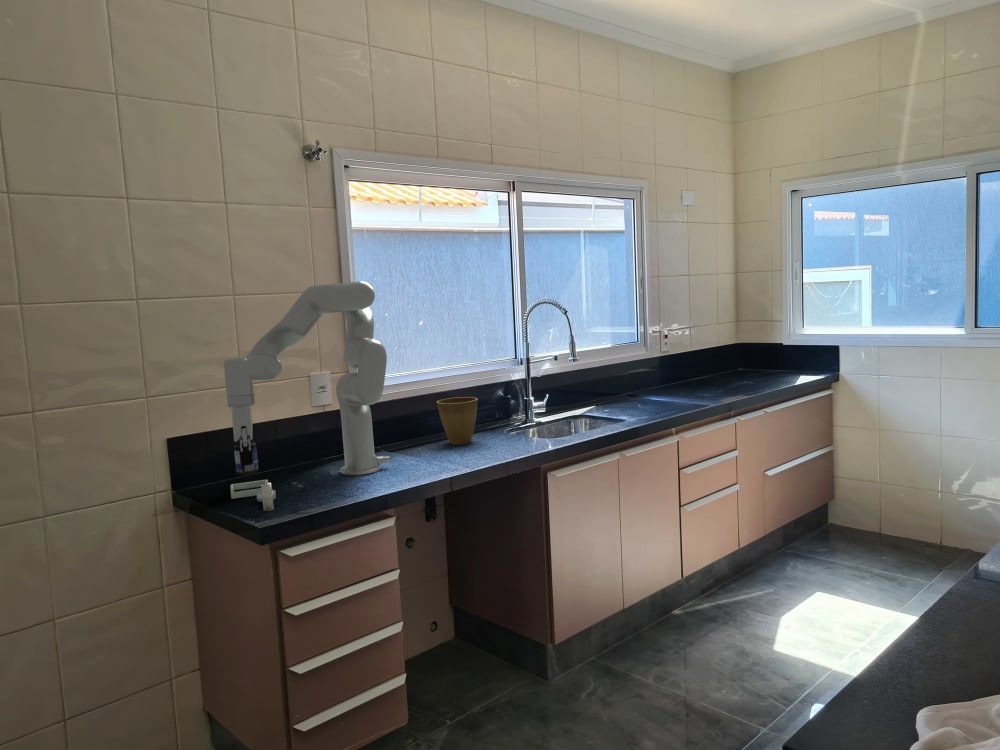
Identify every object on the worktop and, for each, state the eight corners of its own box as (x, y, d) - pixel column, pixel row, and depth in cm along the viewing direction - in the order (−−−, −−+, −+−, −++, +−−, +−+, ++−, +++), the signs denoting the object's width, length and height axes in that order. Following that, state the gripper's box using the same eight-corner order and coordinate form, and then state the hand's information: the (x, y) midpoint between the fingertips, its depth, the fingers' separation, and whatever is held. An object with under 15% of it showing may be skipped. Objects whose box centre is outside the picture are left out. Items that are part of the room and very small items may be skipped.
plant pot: (483, 438, 280) (480, 395, 278) (476, 446, 266) (473, 402, 264) (444, 439, 283) (441, 397, 281) (435, 447, 268) (432, 403, 266)
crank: (256, 498, 209) (254, 473, 208) (275, 495, 211) (273, 471, 210) (259, 512, 195) (256, 486, 194) (278, 509, 197) (276, 483, 196)
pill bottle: (261, 469, 219) (257, 432, 218) (255, 474, 213) (251, 436, 212) (240, 470, 219) (236, 433, 218) (233, 475, 213) (229, 437, 212)
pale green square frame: (268, 489, 224) (267, 479, 223) (270, 497, 214) (269, 487, 214) (231, 494, 220) (230, 484, 220) (231, 503, 211) (230, 493, 210)
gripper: (227, 398, 221) (232, 458, 223) (227, 405, 205) (233, 470, 207) (253, 395, 223) (259, 455, 225) (255, 403, 207) (261, 466, 209)
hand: (246, 461), depth 216 cm, fingers closed on pill bottle, 6 cm apart
